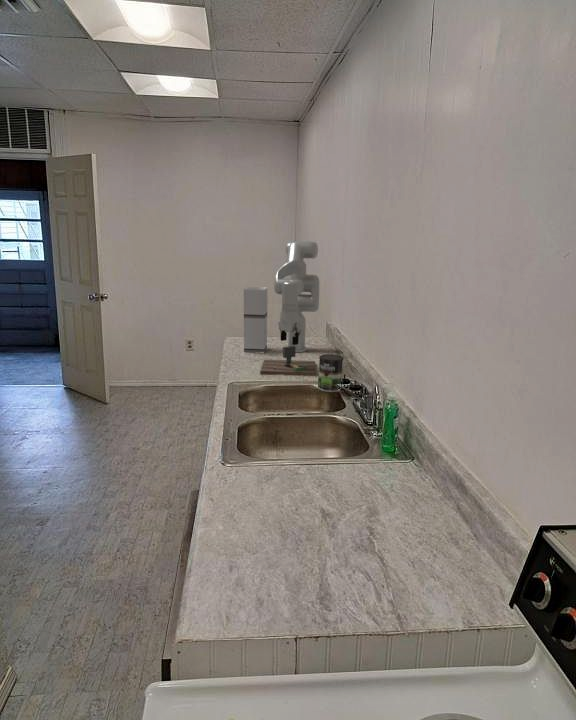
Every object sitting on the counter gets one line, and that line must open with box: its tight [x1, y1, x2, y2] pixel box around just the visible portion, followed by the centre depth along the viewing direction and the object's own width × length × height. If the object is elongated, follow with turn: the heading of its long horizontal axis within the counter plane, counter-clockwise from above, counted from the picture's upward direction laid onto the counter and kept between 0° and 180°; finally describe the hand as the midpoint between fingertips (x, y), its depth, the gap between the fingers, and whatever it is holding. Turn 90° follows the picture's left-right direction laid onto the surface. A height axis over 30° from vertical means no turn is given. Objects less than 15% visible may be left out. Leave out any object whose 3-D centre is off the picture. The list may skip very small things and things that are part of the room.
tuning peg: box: [282, 345, 299, 368], centre depth 247 cm, size 11×6×9 cm, turn 30°
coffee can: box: [317, 353, 345, 393], centre depth 219 cm, size 10×10×14 cm
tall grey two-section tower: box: [243, 286, 268, 353], centre depth 285 cm, size 11×11×35 cm
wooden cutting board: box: [260, 359, 317, 377], centre depth 251 cm, size 22×26×3 cm
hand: (289, 342), depth 249 cm, fingers open, 9 cm apart
